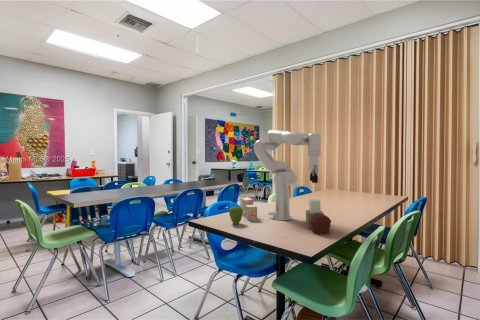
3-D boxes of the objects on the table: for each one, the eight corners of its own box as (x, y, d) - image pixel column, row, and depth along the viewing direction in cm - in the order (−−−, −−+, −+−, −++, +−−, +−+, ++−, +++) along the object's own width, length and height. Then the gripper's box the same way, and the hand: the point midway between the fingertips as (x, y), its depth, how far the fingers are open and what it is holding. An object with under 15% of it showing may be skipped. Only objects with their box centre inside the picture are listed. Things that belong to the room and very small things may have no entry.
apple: (244, 222, 174) (244, 204, 173) (240, 225, 166) (240, 207, 165) (231, 221, 176) (231, 204, 176) (227, 225, 168) (227, 206, 168)
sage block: (310, 212, 159) (310, 201, 159) (309, 210, 165) (309, 199, 165) (320, 212, 159) (320, 201, 159) (318, 211, 164) (318, 199, 164)
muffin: (306, 232, 150) (306, 215, 150) (314, 228, 158) (314, 211, 158) (326, 237, 142) (326, 218, 142) (334, 232, 151) (334, 214, 150)
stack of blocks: (257, 220, 180) (257, 201, 179) (248, 221, 178) (248, 202, 178) (248, 213, 200) (248, 196, 200) (240, 214, 199) (240, 197, 198)
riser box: (308, 228, 158) (308, 213, 158) (306, 224, 167) (305, 210, 167) (324, 229, 157) (324, 213, 157) (320, 225, 166) (320, 210, 166)
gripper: (306, 153, 173) (305, 180, 173) (309, 153, 156) (309, 183, 156) (318, 153, 172) (317, 180, 172) (323, 154, 155) (322, 183, 155)
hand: (313, 181), depth 164 cm, fingers open, 9 cm apart
